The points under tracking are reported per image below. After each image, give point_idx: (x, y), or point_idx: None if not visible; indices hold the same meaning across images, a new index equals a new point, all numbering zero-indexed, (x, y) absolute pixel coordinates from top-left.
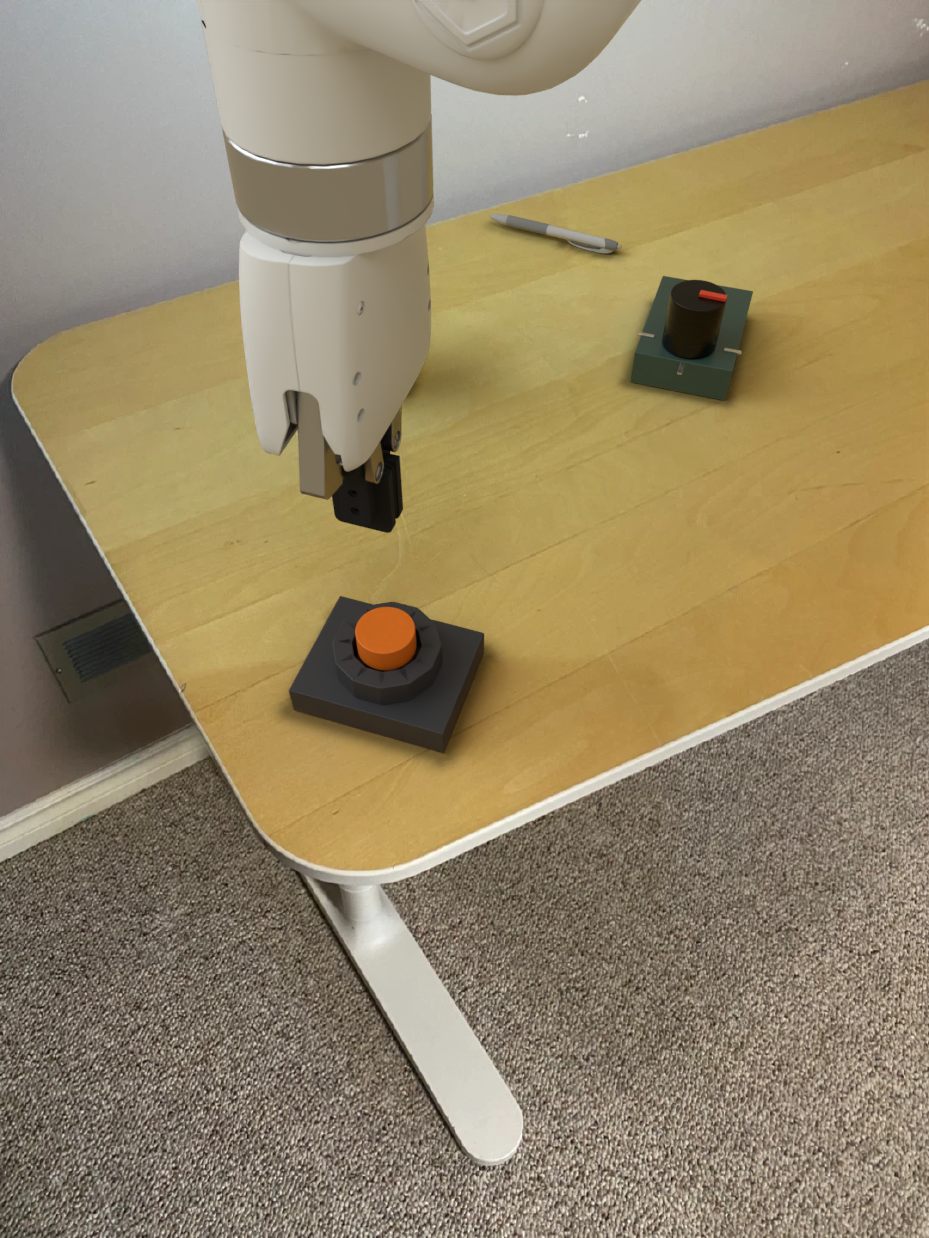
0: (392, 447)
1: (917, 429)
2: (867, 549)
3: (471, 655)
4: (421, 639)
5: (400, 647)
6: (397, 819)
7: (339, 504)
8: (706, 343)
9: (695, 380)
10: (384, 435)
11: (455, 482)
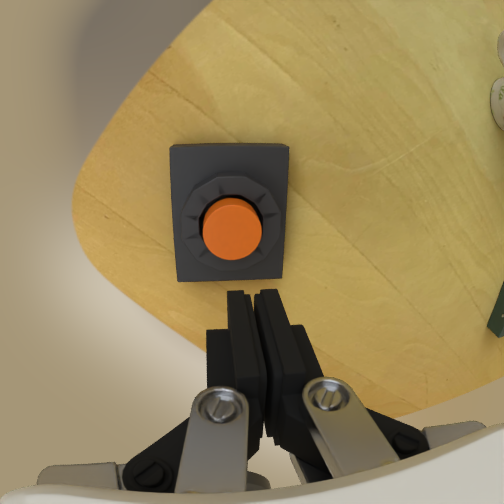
0: (290, 457)
1: (454, 397)
2: (386, 408)
3: (256, 277)
4: None
5: (216, 254)
6: (120, 258)
7: (229, 319)
8: None
9: (499, 315)
10: (299, 466)
11: (436, 190)
